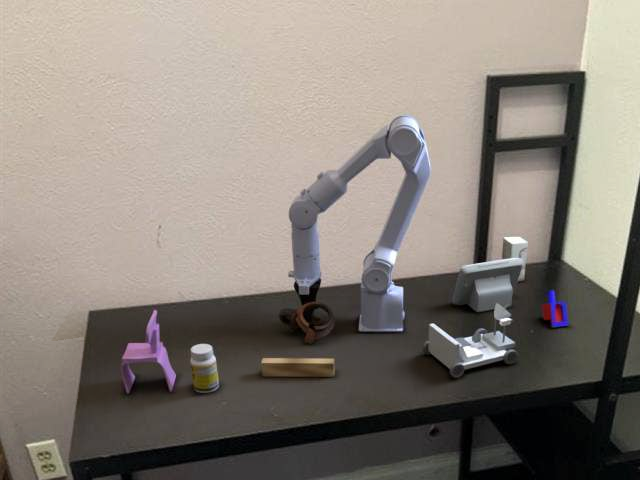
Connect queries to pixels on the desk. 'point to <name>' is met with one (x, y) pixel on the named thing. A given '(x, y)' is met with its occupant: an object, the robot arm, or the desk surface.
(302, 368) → the bar
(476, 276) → the digital clock
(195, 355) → the supplement bottle
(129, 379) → the chair
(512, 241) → the white tall block
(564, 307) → the toy building block
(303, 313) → the pottery mug
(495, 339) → the toy cart
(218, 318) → the desk surface
